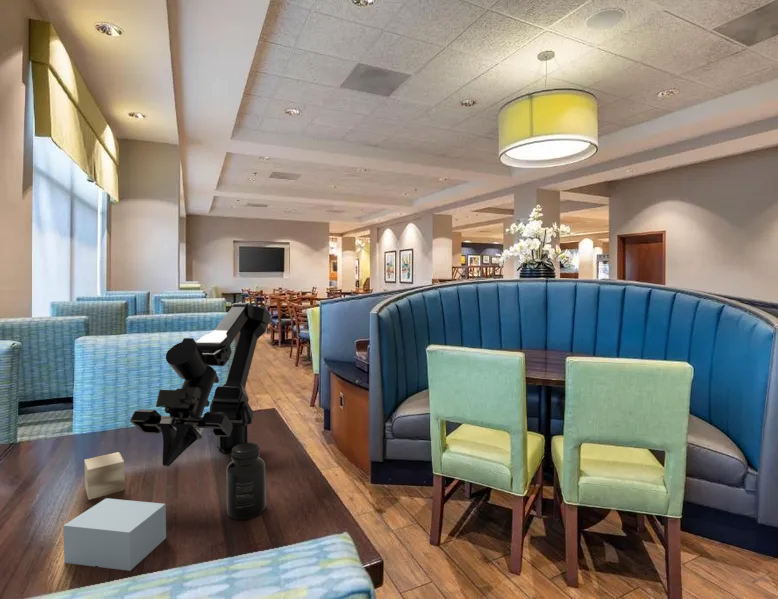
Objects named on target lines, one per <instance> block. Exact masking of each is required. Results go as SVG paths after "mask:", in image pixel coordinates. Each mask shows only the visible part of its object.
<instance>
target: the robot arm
mask: <svg viewBox="0 0 778 599" xmlns="http://www.w3.org/2000/svg"><path fill="white" fill-rule="evenodd" d="M270 322H271V312H270V311H268V310H267V308H266V307H260V306H257V305H253V304H251V303H248V302H234V303H232V304H231V305H230V306H229V310H228V312H227V313H226V314H225V315H224V317H223V318H222V320H220V322H219V323H218V325H217V326H216V327H215V329H214V330H213V331H212V332H210V333H207V334H205V335H203V336H202V337H200V338H199V339H198V340H195V339H194V338H193V337H190V338H189V337H183V339H182V341H181V342H178V343H177V344H174V345H173V346H172V347H171V348H170V349H168V350H167V352H166V354H165V360H166V362H167V363H168V364H169V366H170V367H171V368H172V370H173V371H174V372H175V373H176V374H177V376H178V377H179V378H180V379H182V380H184V382H182V386H181V388H176V389H159V390H158V396H157V400H156V403H155V407H156V408H164V410H163V411H164V413H166V414H169V415H161V414H160V412H158V411H157V409H146V408H145V409H144V408H143V409H142V408H140V409H137V410H135V411H134V412H133V413H132V415H131V417H130V419H129V422H130V423H131V424H132V425H134V426H135V427H136V428H137V429H139V431H140V432H142V433H145V434H155V435H158V434H160V433H161V434H162V445H163V446H162V466H163V467H168V468H169V467H170V466H171V465H172V464H173V463H174V462H175V461H176V460H177V459H178V458H179V457H180V455H182V453H183V452H185V451H187V449H188V448H189V447H190V446H192V445H193V444H194V443H195V442H196V441H198V440H202V438H203V435H202V433H203V430H204V429H211V430H212V429H213V430H212V432H213V433H214V436H215V437H216V447H217V448H219V450H221V452H223V453H224V454H227V453H232V448H233V447H234V446H236V445H238V444H242V443H249V442H248V440H249V439H248V437H249V436H248V425H251V424H253V418H254V410H253V409H252V407H251V406H250V405H249V396H248V393H247V390H246V386H247V381H248V377H249V374H250V370H251V367H252V366H251V365H252V362H253V357H254V355H255V354H254V353H255V351H256V346H257V343H258V339H259V338H261V337H262V336H263V335H264V334H265V333H266V331H267V329H268V325H269V324H270ZM238 334H239V337H238V340H237V344H236V347H235V350H234V352H233V351H232V348H231V345H232V343H233V342H234V340H235V339H236V337H237V336H238ZM232 352H233V357H232V361H231V364H230V368H229V371H228V375H227V379H226V382H225V383H224V384H223V385H221V386H217V387H216V388H215V391H214V395H213V397H212V400H211V401H210V400H209V397H210V394H211V392H212V389H213V386H214V384H218V383H219V382H220V378H219V376H218V374H217V370H215V368H213V367H224V366H225V365H226V364H227V363H228V361H229V360H230V359H231V355H232ZM207 407H209V411H207V412H205V413H204V411H205V408H207ZM202 415H203V416H202Z"/></svg>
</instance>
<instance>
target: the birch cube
mask: <svg viewBox="0 0 778 599" xmlns="http://www.w3.org/2000/svg"><path fill="white" fill-rule="evenodd" d="M83 467H84V490H85V492H86V496H87V499H88V500H89V501H90V500H93V499H97V498H101V497H105V496H108V495H111V494H114V493H119V492H122V491H125V490H126V489H125V488H126V487H125V485H126V484H125V483H126V481H125V461H124V458H123V457H122V455H121V453H120V452H119V451H118V452H113V453H108V454H103V455H100V456H94V457H90V458H86V459H85V458H84V466H83Z"/></svg>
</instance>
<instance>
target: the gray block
mask: <svg viewBox="0 0 778 599" xmlns="http://www.w3.org/2000/svg"><path fill="white" fill-rule="evenodd" d="M166 509H167V508H166V503H160V502H152V501H151V502H150V501H138V500H131V499H130V500H129V499H127V500H126V499H117V498H108V497H107V498H104V499H103V500H101V501H100V502H98V503H96V504H95V505H93V506H91V507H90V508H89V509H87V510H85V511H84V512H82V513H81V514H79V515H78V516H76V517H74V518H73V519H71V520H70V521H68V522H66V523H65V524H64V525H62V526H63V531H62V532H63V555H64V556H63V558H64V559H63V561H64V564H71V565H72V564H73V565H79V566H88V567H95V566H98V568H104V569H114V570H121V571H132V570H133V569H134V568H135V567H136V566H137V565H138V564H139V563H140V562H142V561H143V560H144V559H145V558H146V557H147V556H148V555H149V554H150V553H152V552H153V550H154V549H156V548H158V546H159V545H160V544H161V543H163V541H164V540H165V539H167V516H166V514H167V511H166Z"/></svg>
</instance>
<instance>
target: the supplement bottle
mask: <svg viewBox="0 0 778 599" xmlns="http://www.w3.org/2000/svg"><path fill="white" fill-rule="evenodd" d="M260 455H261V453H260V444H258V443H256V442H248V443H242V444H238V445H236V446H234V447H233V448H232V452H231V461H230V462H229V463H228V464H227V467H226V469H225V470H226V472H225V473H226V512H227V515H228V516H229V517H230V518H232V519H233V520H238V521H239V520H240V521H241V520H249V519H252V518H255V517H257V516H259V515H260V514H262V513H263V512H264V511H265V508H266V500H267V499H266V498H267V497H266V496H267V495H266V463H265V460H264V459H262V458H261V457H260Z"/></svg>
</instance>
